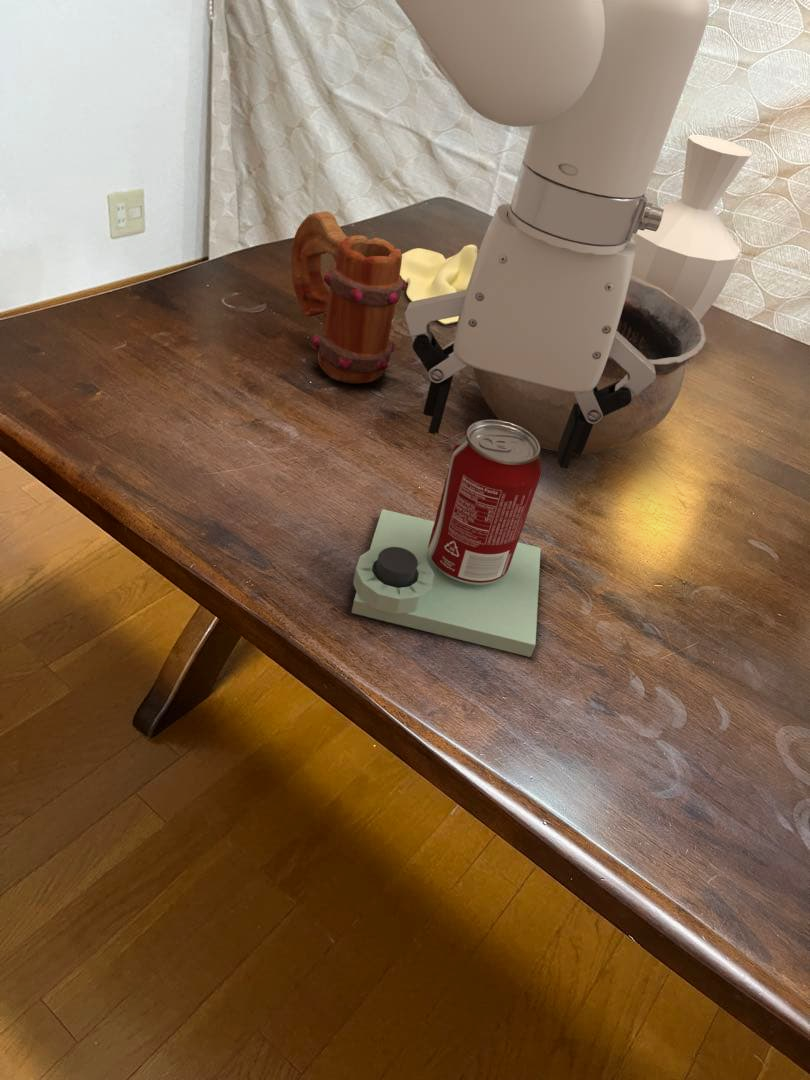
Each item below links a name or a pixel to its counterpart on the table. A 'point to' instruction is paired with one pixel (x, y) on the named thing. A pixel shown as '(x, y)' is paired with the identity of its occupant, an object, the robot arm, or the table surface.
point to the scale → (450, 592)
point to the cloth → (437, 273)
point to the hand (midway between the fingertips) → (498, 441)
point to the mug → (347, 297)
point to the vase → (693, 229)
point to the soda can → (485, 502)
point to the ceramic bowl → (610, 376)
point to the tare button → (396, 567)
